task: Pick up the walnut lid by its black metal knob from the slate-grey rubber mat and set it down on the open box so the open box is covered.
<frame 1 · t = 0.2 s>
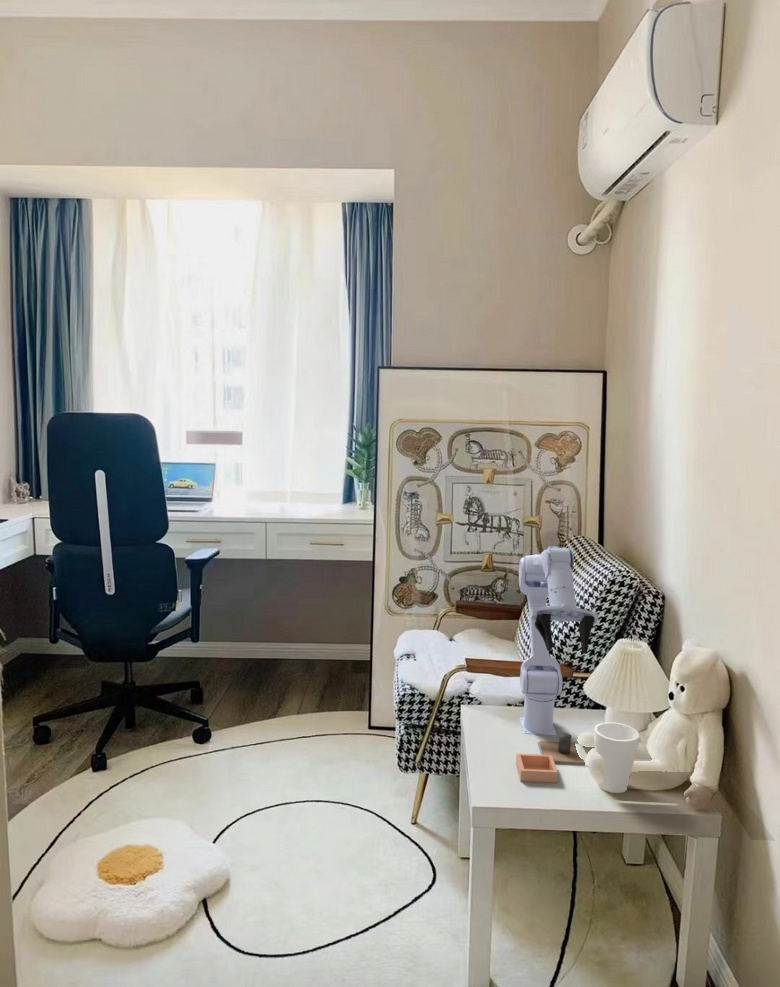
hand: (567, 649, 175), 31 cm above the table, tool tilted 45°, fingers open, 7 cm apart
mat: (563, 755, 193), on the table
lid: (563, 753, 193), resting on mat
foam cup: (612, 788, 179), on the table
open box: (535, 775, 184), on the table
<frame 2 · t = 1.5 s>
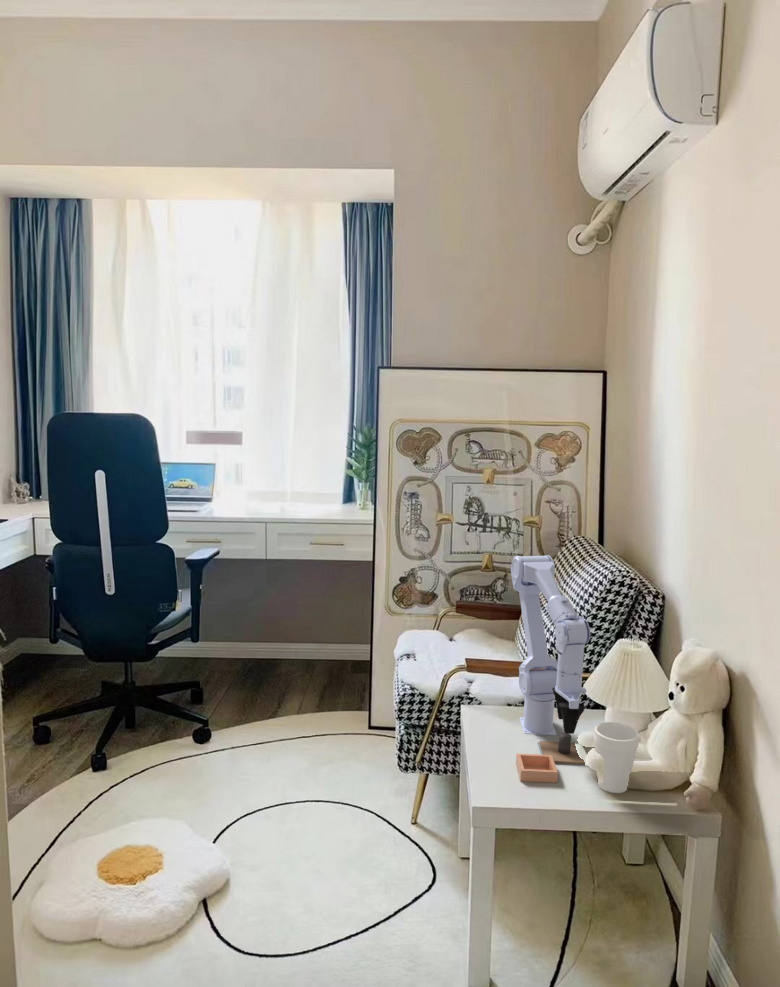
hand: (566, 725, 192), 8 cm above the table, tool pointing down, fingers open, 7 cm apart
nothing on the table moved.
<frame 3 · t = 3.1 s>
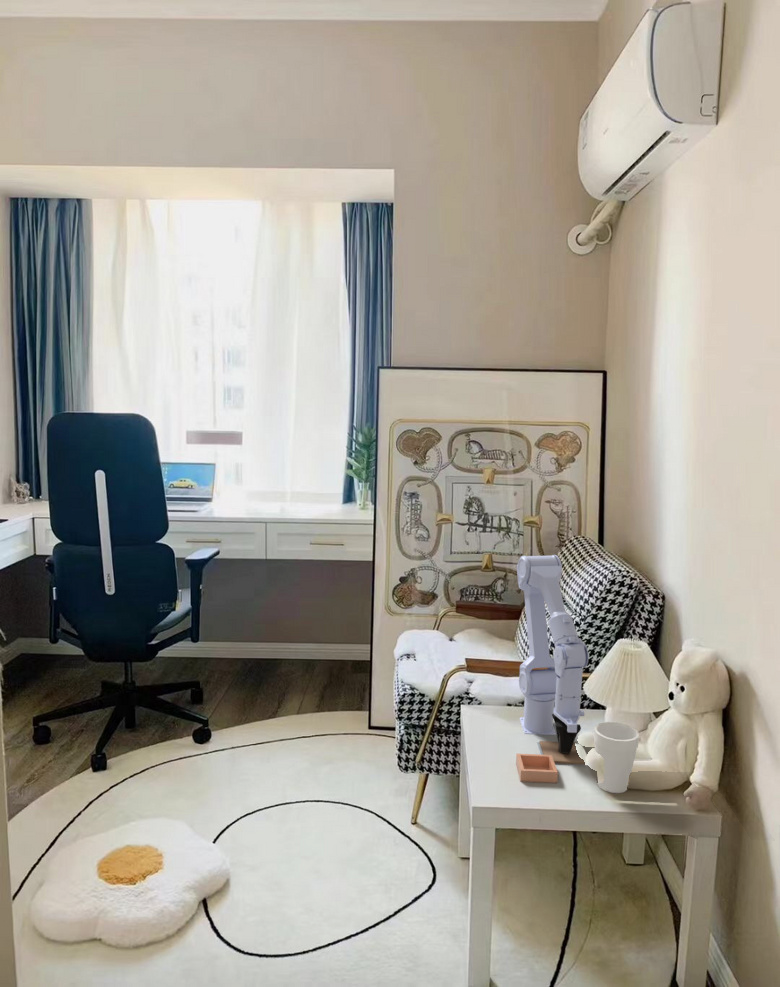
hand: (564, 748, 193), 2 cm above the table, tool pointing down, fingers closed on lid, 3 cm apart
lid: (563, 753, 193), resting on mat, touching gripper
everything else where it was.
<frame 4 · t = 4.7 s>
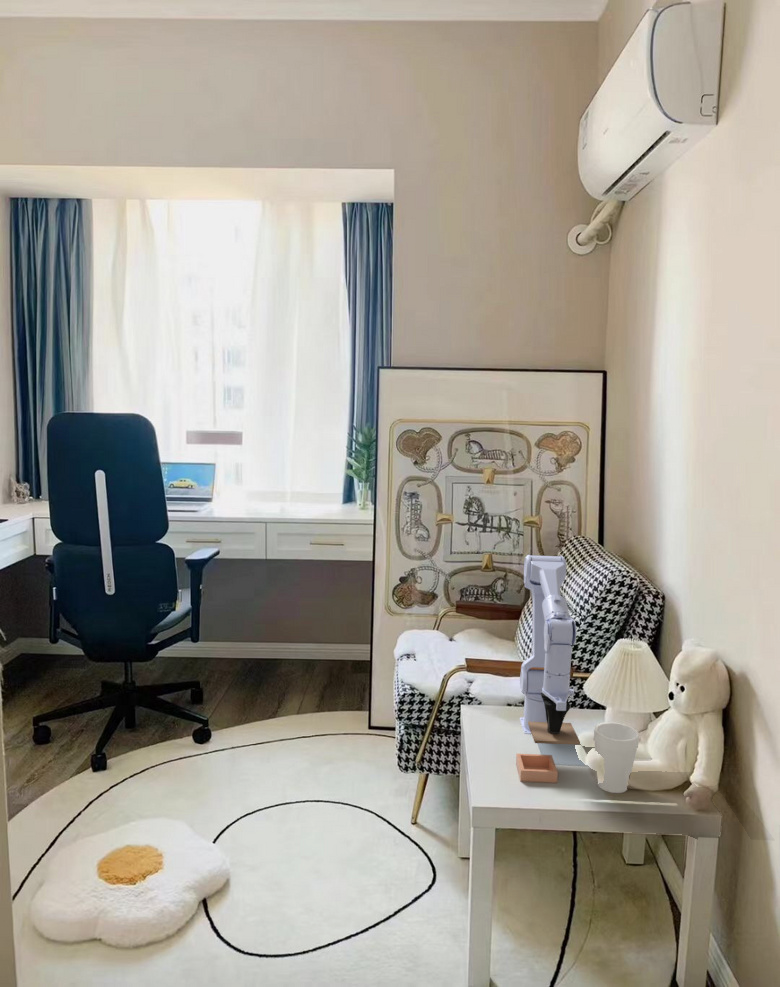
hand: (553, 728, 187), 9 cm above the table, tool pointing down, fingers closed on lid, 3 cm apart
lid: (553, 734, 187), point 8 cm above the table, touching gripper
everything else where it was.
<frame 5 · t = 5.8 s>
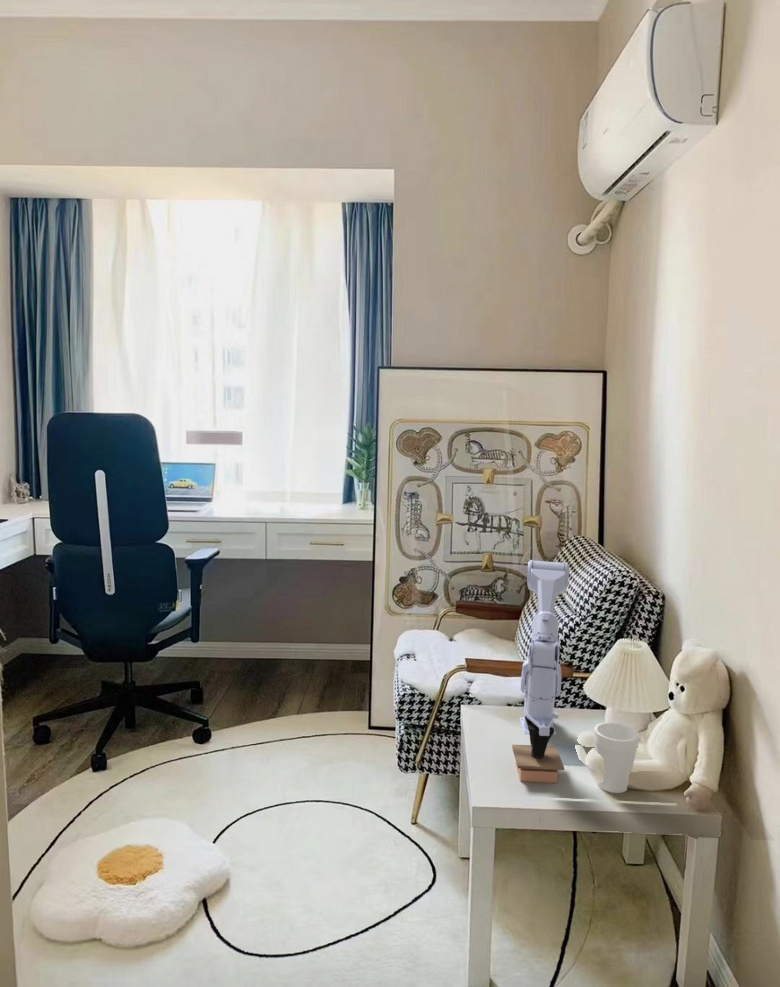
hand: (537, 752, 183), 5 cm above the table, tool pointing down, fingers closed on lid, 3 cm apart
lid: (537, 758, 183), point 4 cm above the table, touching gripper
everything else where it was.
when the fingers open (5 cm above the table, at t = 6.4 s): lid drops 1 cm, resting on open box.
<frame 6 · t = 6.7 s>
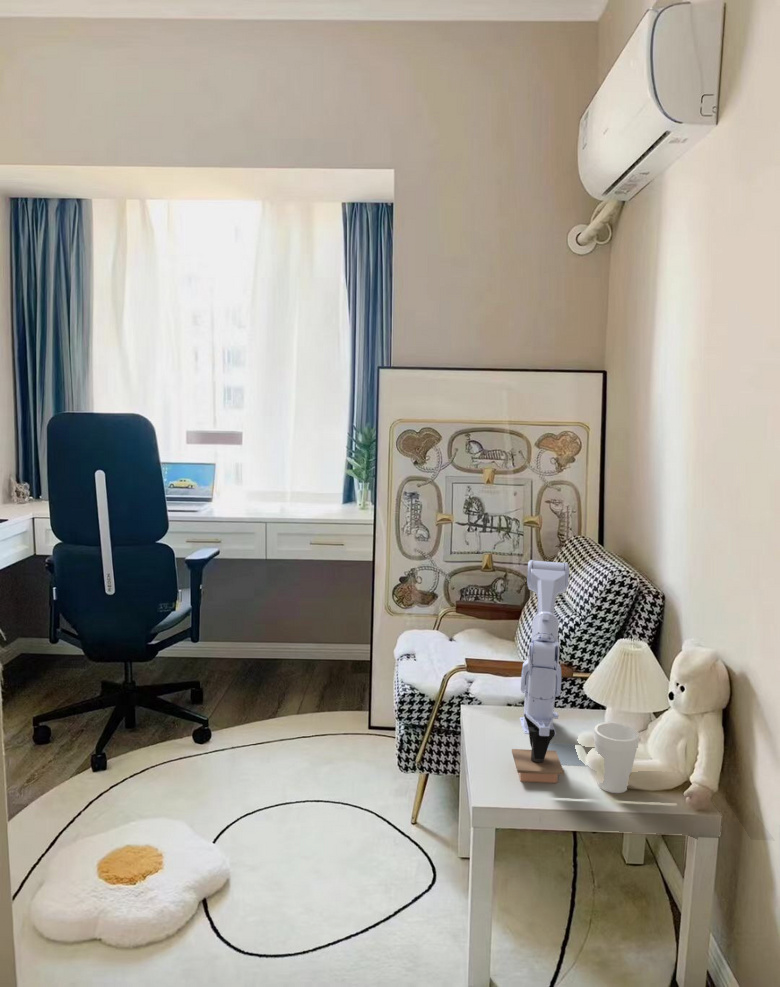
hand: (537, 752, 183), 5 cm above the table, tool pointing down, fingers open, 5 cm apart
lid: (537, 762, 183), point 3 cm above the table, touching open box
everything else where it was.
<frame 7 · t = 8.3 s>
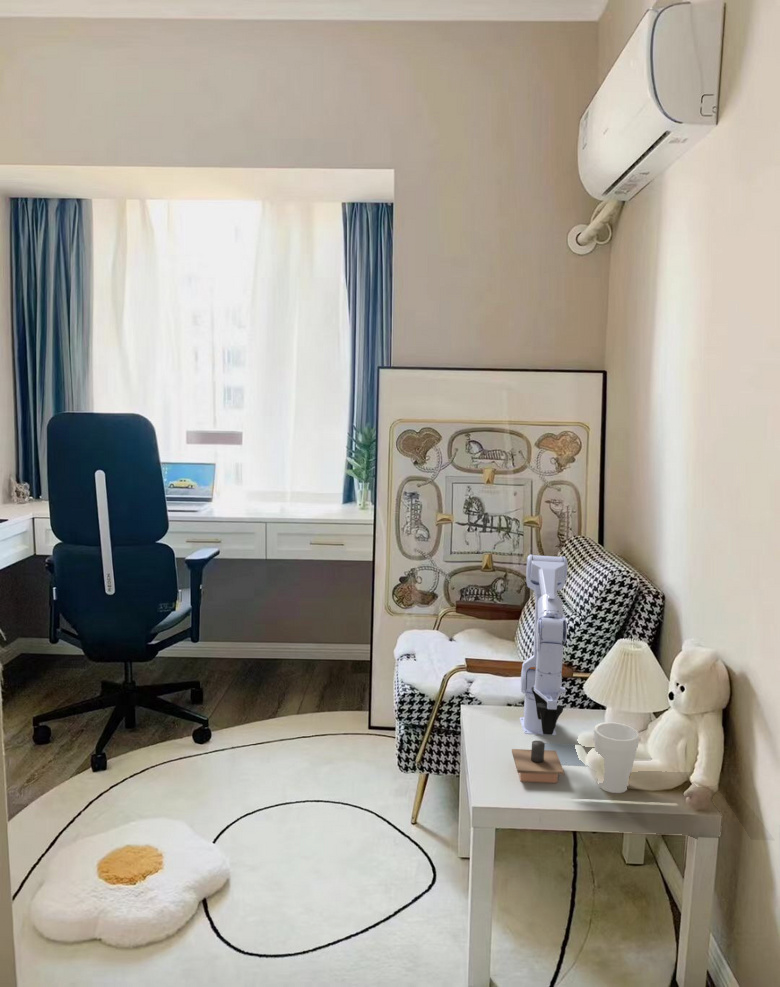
hand: (545, 726, 187), 9 cm above the table, tool pointing down, fingers open, 7 cm apart
nothing on the table moved.
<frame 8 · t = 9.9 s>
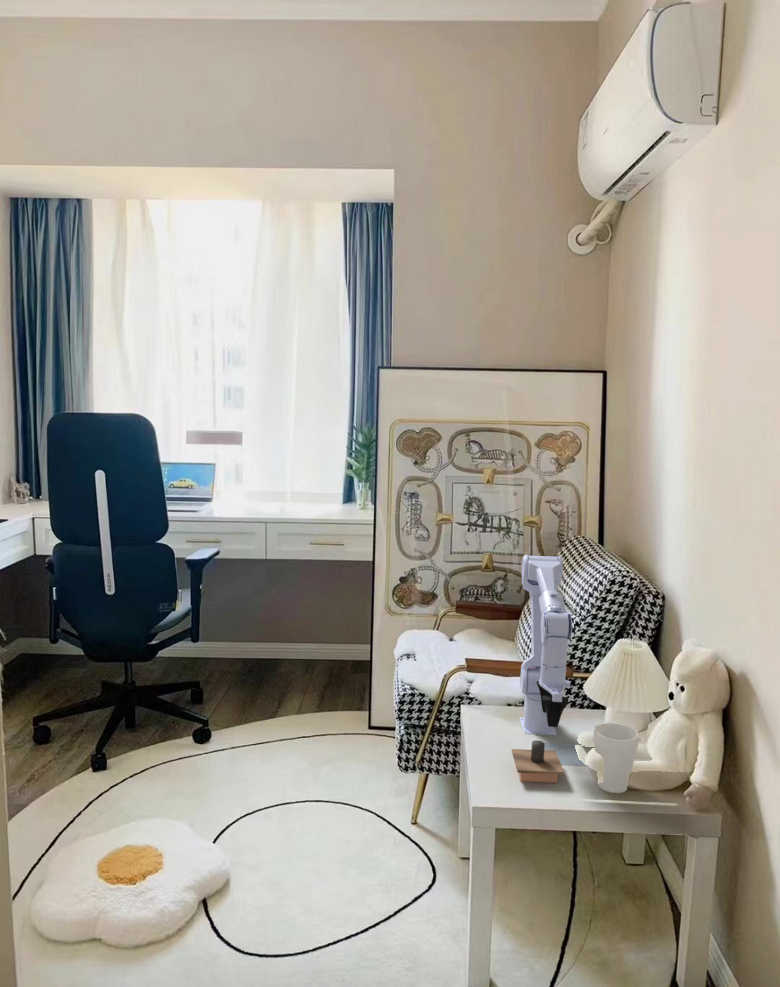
hand: (549, 719, 191), 9 cm above the table, tool pointing down, fingers open, 7 cm apart
nothing on the table moved.
at the end: lid 0.1 cm off-centre on the open box, point 3.0 cm above the open box's base; lid tilted 0°; the gripper is holding nothing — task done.
